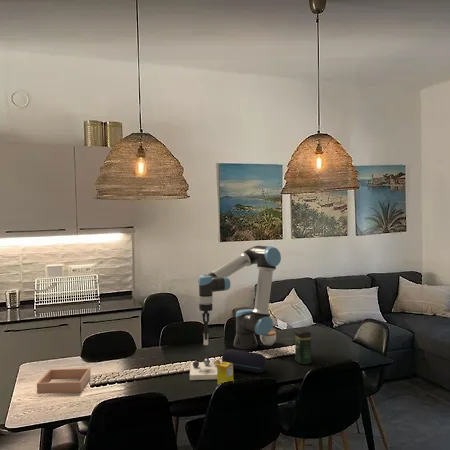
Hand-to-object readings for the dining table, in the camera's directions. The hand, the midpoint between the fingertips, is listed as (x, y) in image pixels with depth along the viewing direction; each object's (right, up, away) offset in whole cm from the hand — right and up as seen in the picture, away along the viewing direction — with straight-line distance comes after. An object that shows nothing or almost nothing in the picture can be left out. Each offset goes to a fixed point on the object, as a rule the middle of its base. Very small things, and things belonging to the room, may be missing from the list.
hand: (205, 344), depth 270 cm
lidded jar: (+39, -9, +39) cm, 55 cm away
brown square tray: (-70, -13, -29) cm, 77 cm away
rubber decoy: (-5, -8, -12) cm, 15 cm away
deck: (+1, -12, -14) cm, 19 cm away
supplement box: (+11, -13, -32) cm, 36 cm away
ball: (+1, -7, -8) cm, 11 cm away
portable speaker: (+22, -12, -9) cm, 26 cm away
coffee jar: (+55, -11, +2) cm, 57 cm away
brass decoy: (+6, -7, -10) cm, 14 cm away
